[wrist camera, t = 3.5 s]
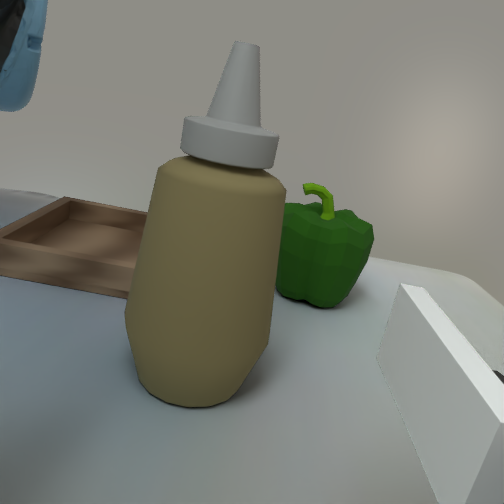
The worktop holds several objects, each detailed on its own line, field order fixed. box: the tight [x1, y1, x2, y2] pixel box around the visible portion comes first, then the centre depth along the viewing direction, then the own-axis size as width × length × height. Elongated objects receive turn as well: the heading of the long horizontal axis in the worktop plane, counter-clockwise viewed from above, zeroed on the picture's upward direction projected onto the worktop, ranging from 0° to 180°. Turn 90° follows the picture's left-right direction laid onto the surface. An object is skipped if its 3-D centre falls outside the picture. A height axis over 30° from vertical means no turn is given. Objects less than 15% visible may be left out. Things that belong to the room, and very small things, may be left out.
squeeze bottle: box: [125, 41, 286, 407], centre depth 24 cm, size 8×8×18 cm
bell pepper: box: [275, 183, 374, 307], centre depth 41 cm, size 8×8×10 cm
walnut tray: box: [0, 197, 148, 299], centre depth 41 cm, size 15×15×2 cm
